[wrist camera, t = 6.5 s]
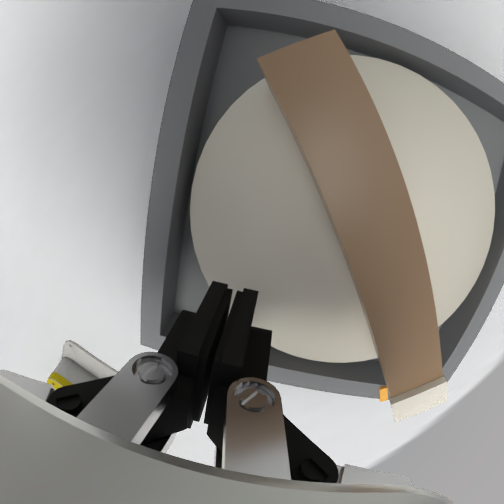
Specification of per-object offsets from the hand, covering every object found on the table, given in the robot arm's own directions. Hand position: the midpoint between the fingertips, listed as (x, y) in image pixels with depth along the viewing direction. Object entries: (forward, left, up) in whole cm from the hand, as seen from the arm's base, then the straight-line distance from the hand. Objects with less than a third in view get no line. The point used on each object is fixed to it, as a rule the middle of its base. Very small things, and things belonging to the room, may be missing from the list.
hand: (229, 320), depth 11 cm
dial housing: (-4, +4, -4) cm, 7 cm away
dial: (-4, +4, -3) cm, 6 cm away
